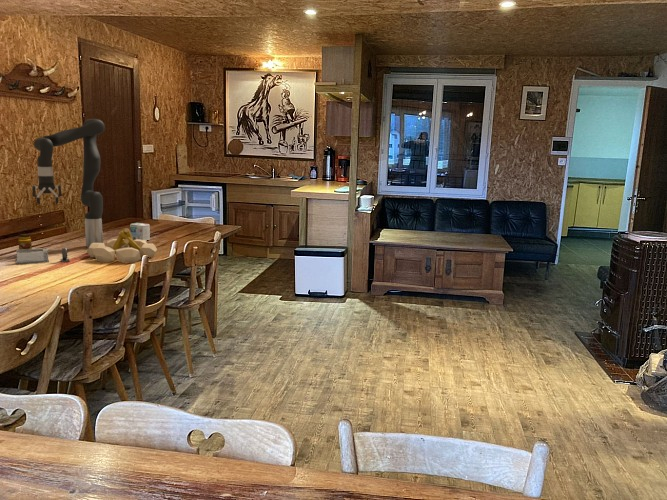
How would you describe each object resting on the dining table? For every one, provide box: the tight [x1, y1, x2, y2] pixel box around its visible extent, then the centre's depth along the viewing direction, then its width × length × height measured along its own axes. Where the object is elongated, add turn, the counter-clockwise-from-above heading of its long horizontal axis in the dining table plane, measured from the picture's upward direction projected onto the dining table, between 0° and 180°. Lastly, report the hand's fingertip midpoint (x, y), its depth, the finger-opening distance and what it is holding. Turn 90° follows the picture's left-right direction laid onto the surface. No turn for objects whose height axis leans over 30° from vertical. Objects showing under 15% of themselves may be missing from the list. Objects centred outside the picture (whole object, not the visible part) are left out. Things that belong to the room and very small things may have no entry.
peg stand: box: [60, 247, 71, 263], centre depth 287 cm, size 4×4×7 cm
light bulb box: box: [129, 222, 151, 242], centre depth 352 cm, size 11×7×11 cm, turn 68°
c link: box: [16, 247, 49, 263], centre depth 286 cm, size 14×10×5 cm
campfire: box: [86, 227, 158, 264], centre depth 304 cm, size 35×34×17 cm
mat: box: [15, 257, 50, 265], centre depth 286 cm, size 15×13×1 cm
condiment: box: [15, 233, 33, 257], centre depth 295 cm, size 7×8×12 cm
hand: (47, 204), depth 303 cm, fingers open, 8 cm apart
